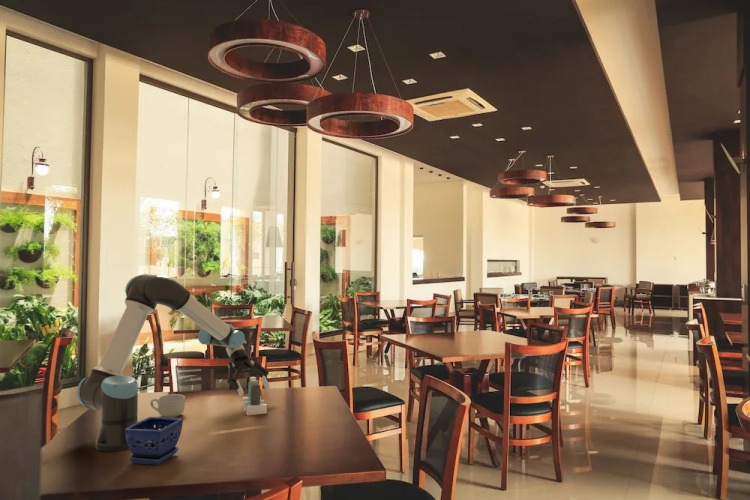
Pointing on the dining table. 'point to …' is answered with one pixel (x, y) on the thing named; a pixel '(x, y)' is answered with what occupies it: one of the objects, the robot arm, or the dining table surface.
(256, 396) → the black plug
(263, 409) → the cord comb
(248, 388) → the teal bottle
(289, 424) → the dining table surface
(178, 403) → the teacup
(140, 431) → the flower pot
